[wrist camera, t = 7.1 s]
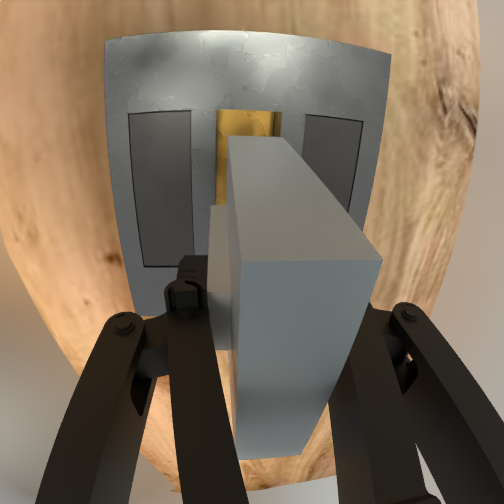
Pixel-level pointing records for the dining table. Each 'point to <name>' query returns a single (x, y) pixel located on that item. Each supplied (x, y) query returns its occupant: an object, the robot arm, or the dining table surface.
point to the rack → (227, 131)
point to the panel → (288, 294)
